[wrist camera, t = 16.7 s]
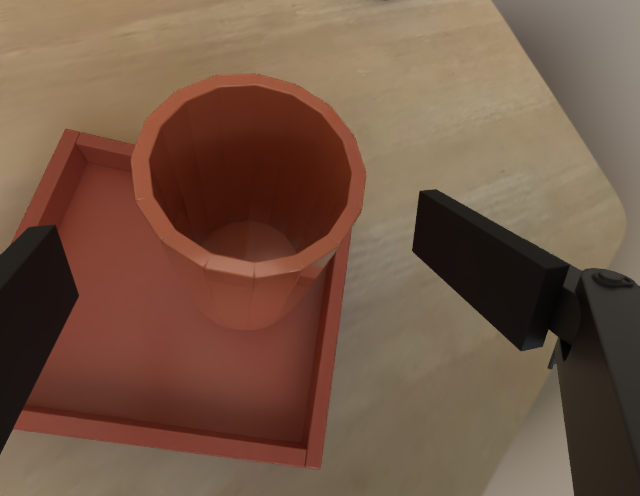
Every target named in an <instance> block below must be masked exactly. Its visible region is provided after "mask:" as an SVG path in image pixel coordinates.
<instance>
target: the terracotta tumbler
mask: <svg viewBox="0 0 640 496" xmlns="http://www.w3.org/2000/svg"><path fill="white" fill-rule="evenodd" d="M131 168H132V177H133V186H134V195H135V201H136V204H137V206H138V207H139V209H140V211H141V213H142V214H143V216H144V218H145V220H146V221H147V223H148V225H149V227H150V228H151V230H152V232H153V234H154V235H155V237H156V239H157V241H158V242H159V244H160V246H161V248H162V250H163V251H164V253H165V255H166V257H167V258H168V260H169V262H170V264H171V265H172V267H173V269H174V271H175V272H176V274H177V276H178V278H179V279H180V281H181V283H182V285H183V286H184V288H185V290H186V292H187V293H188V295H189V296H190V298H191V300H192V301H193V303H194V304H195V306H196V307H197V309H198V310H199V312H200V313H201V314H203V315H204V316H205V317H206V318H208V319H209V320H210V321H212V322H214V323H216V324H217V325H219V326H222V327H224V328H228V329H232V330H238V331H253V330H259V329H263V328H266V327H269V326H271V325H273V324H275V323H277V322H278V321H280V320H281V319H283V318H284V317H285V316H287V315H288V314H289V313H290V312H291V311H293V309H294V308H295V306H296V305H297V304H298V302H299V301H300V300H301V298H302V297H303V296H304V294H305V293H306V292H307V290H308V289H309V287H310V286H311V285H312V283H313V282H314V281H315V279H316V278H317V277H318V275H319V274H320V272H321V271H322V270H323V268H324V267H325V266H326V264H327V263H328V262H329V260H330V259H331V257H332V256H333V255H334V253H335V252H336V251H337V249H338V248H339V247H340V245H341V244H342V242H343V241H344V239H345V237H346V236H347V234H348V233H349V231H350V229H351V228H352V226H353V225H354V223H355V222H356V220H357V218H358V217H359V215H360V214H361V211H362V205H363V197H364V189H365V181H366V171H365V167H364V164H363V161H362V158H361V154H360V151H359V148H358V145H357V141H356V138H355V137H354V135H353V134H352V132H351V131H350V130H349V128H348V127H347V126H346V125H345V123H344V122H343V121H342V120H341V118H340V117H339V116H338V115H337V113H336V112H335V111H334V110H333V108H332V107H330V105H328V104H327V103H325V102H323V101H322V100H320V99H319V98H317V97H316V96H314V95H312V94H311V93H309V92H308V91H306V90H305V89H303V88H302V87H300V86H298V85H296V84H293V83H289V82H286V81H282V80H278V79H275V78H271V77H267V76H263V75H260V74H257V75H256V74H235V75H216V76H215V77H214V76H212V77H210V78H207V79H205V80H202V81H200V82H197V83H195V84H192V85H190V86H187V87H184V88H182V89H179V90H177V91H176V92H174V93H173V94H172V95H171V96H170V97H169V98H168V99H167V100H166V101H165V102H163V103H162V104H161V105H160V106H159V107H158V108H157V109H156V110H155V111H154V112H153V113H152V114H151V115H150V116H149V117H148V118H147V119H146V121H145V122H144V125H143V128H142V130H141V133H140V135H139V138H138V141H137V143H136V146H135V148H134V151H133V154H132V156H131Z"/></svg>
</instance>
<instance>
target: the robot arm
mask: <svg viewBox="0 0 640 496" xmlns="http://www.w3.org/2000/svg"><path fill="white" fill-rule="evenodd" d="M412 251H413V252H414V253H415V254H416V255H417V256H418V257H419V258H420V259H421V260H422V261H423V262H424V263H426V264H427V265H428V266H429V267H430V268H431V269H432V270H433V271H434V272H435V273H436V274H437V275H439V276H440V277H441V278H442V279H443V280H444V281H445V282H446V283H447V284H448V285H449V286H451V287H452V288H453V289H454V290H455V291H456V292H457V293H458V294H459V295H460V296H461V297H462V298H464V299H465V300H466V301H467V302H468V303H469V304H470V305H471V306H472V307H473V308H474V309H476V310H477V311H478V312H479V313H480V314H481V315H482V316H483V317H484V318H485V319H486V320H487V321H489V322H490V323H491V324H492V325H493V326H494V327H495V328H496V329H497V330H498V331H499V332H501V333H502V334H503V335H504V336H505V337H506V338H507V339H508V340H509V341H510V342H511V343H512V344H514V345H515V346H516V347H517V348H518V349H519V350H520V351H525V350H529V349H534V348H538V347H543V344H544V341H545V338H546V335H547V332H548V329H549V330H550V331H552V332H553V333H554V334H555V335H557V336H558V339H557V342H556V345H555V348H554V350H553V353H552V356H551V359H550V362H549V365H548V369H552V368H553V365H554V364H557V369H558V377H559V384H560V391H561V399H562V407H563V414H564V422H565V429H566V437H567V444H568V452H569V459H570V467H571V473H572V481H573V489H574V496H640V286H638V285H637V284H636V283H635V282H634V281H633V280H632V279H631V278H628V277H627V276H624V275H622V274H619V273H617V272H614V271H610V270H606V269H598V268H591V269H585V270H583V271H581V270H579V269H577V268H576V267H574V266H572V265H570V264H568V263H567V262H565V261H563V260H561V259H560V258H558V257H556V256H554V255H552V254H550V253H549V252H547V251H545V250H544V249H542V248H539V247H538V246H537V245H535V244H533V243H531V242H529V241H528V240H525V239H523V238H521V237H519V236H518V235H516V234H514V233H512V232H511V231H509V230H507V229H505V228H504V227H502V226H500V225H498V224H497V223H495V222H493V221H491V220H489V219H488V218H486V217H484V216H482V215H481V214H479V213H477V212H475V211H474V210H472V209H470V208H468V207H467V206H465V205H463V204H461V203H459V202H458V201H456V200H454V199H452V198H451V197H449V196H447V195H445V194H444V193H442V192H440V191H438V190H436V189H435V190H424V191H420V192H419V200H418V208H417V216H416V224H415V232H414V240H413V248H412ZM78 297H79V293H78V290H77V287H76V284H75V281H74V278H73V275H72V272H71V269H70V266H69V263H68V260H67V257H66V254H65V251H64V248H63V245H62V242H61V239H60V236H59V233H58V230H57V227H56V224H55V225H44V226H33V227H28V228H27V229H26V230H25V231H24V232H23V233H22V234H21V235H20V236H19V237H18V238H17V239H16V240H15V241H14V242H13V243H12V244H11V245H10V246H9V247H8V248H7V249H6V250H5V251H4V252H3V253H2V254H1V255H0V454H1V452H2V450H3V448H4V446H5V444H6V442H7V440H8V438H9V436H10V434H11V432H12V430H13V428H14V426H15V424H16V422H17V420H18V418H19V416H20V414H21V412H22V410H23V408H24V406H25V404H26V402H27V400H28V398H29V396H30V394H31V392H32V390H33V388H34V386H35V384H36V382H37V380H38V378H39V376H40V374H41V372H42V370H43V368H44V366H45V364H46V361H47V359H48V357H49V355H50V353H51V351H52V349H53V347H54V345H55V343H56V341H57V339H58V337H59V335H60V333H61V331H62V329H63V327H64V325H65V323H66V321H67V319H68V317H69V315H70V313H71V311H72V309H73V307H74V305H75V303H76V301H77V299H78Z"/></svg>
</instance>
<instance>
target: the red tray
mask: <svg viewBox="0 0 640 496" xmlns="http://www.w3.org/2000/svg"><path fill="white" fill-rule="evenodd" d="M135 146H136V145H133V144H129V143H125V142H120V141H116V140H112V139H108V138H103V137H99V136H95V135H90V134H86V133H82V132H81V133H80V132H78V131H73V130H69V129H65V131H64V133H63V135H62V137H61V139H60V141H59V144H58V146H57V148H56V150H55V152H54V154H53V156H52V158H51V161H50V163H49V165H48V167H47V169H46V171H45V173H44V175H43V177H42V180H41V182H40V184H39V186H38V188H37V190H36V192H35V194H34V196H33V199H32V201H31V203H30V205H29V207H28V209H27V211H26V213H25V216H24V218H23V220H22V222H21V224H20V226H19V228H18V230H17V232H16V235H15V237H14V239H13V241H12V243H13V242H14V241H15V240H16V239H17V238H18V237H19V236H20V235H21V234H22V233H23V232H24V231H25V230H26V229H27V228H28V227H33V226H44V225H55V224H56V227H57V230H58V233H59V236H60V239H61V242H62V245H63V248H64V251H65V254H66V257H67V260H68V263H69V266H70V269H71V272H72V275H73V278H74V281H75V284H76V287H77V290H78V293H79V297H78V299H77V301H76V303H75V305H74V307H73V309H72V311H71V313H70V315H69V317H68V319H67V321H66V323H65V325H64V327H63V329H62V331H61V333H60V335H59V337H58V339H57V341H56V343H55V345H54V347H53V349H52V351H51V353H50V355H49V357H48V359H47V361H46V364H45V366H44V368H43V370H42V372H41V374H40V376H39V378H38V380H37V382H36V384H35V386H34V388H33V390H32V392H31V394H30V396H29V398H28V400H27V402H26V404H25V406H24V408H23V410H22V412H21V414H20V416H19V418H18V420H17V422H16V424H15V426H14V428H13V429H16V430H24V431H31V432H39V433H46V434H54V435H61V436H69V437H76V438H84V439H91V440H99V441H106V442H114V443H121V444H129V445H136V446H144V447H151V448H159V449H167V450H174V451H182V452H189V453H197V454H204V455H212V456H219V457H227V458H234V459H242V460H249V461H257V462H264V463H272V464H279V465H287V466H294V467H302V468H303V467H305V468H310V469H318V470H319V469H320V468H321V461H322V453H323V446H324V438H325V430H326V422H327V415H328V407H329V399H330V392H331V384H332V376H333V368H334V361H335V353H336V345H337V337H338V330H339V322H340V314H341V307H342V299H343V291H344V283H345V276H346V268H347V260H348V253H349V245H350V237H351V229H352V228H351V229H350V231H349V233H348V234H347V236H346V237H345V239H344V241H343V242H342V244H341V245H340V247H339V248H338V249H337V251H336V252H335V253H334V255H333V256H332V257H331V259H330V260H329V262H328V263H327V264H326V266H325V267H324V268H323V270H322V271H321V272H320V274H319V275H318V277H317V278H316V279H315V281H314V282H313V283H312V285H311V286H310V287H309V289H308V290H307V292H306V293H305V294H304V296H303V297H302V298H301V300H300V301H299V302H298V304H297V305H296V306H295V308H294V309H293V311H291V312H290V313H289V314H288V315H287V316H285V317H284V318H283V319H281V320H280V321H278V322H277V323H275V324H273V325H271V326H269V327H266V328H263V329H259V330H253V331H238V330H232V329H228V328H224V327H222V326H219V325H217V324H216V323H214V322H212V321H210V320H209V319H208V318H206V317H205V316H204V315H203V314H201V313H200V312H199V310H198V309H197V307H196V306H195V304H194V303H193V301H192V300H191V298H190V296H189V295H188V293H187V292H186V290H185V288H184V286H183V285H182V283H181V281H180V279H179V278H178V276H177V274H176V272H175V271H174V269H173V267H172V265H171V264H170V262H169V260H168V258H167V257H166V255H165V253H164V251H163V250H162V248H161V246H160V244H159V242H158V241H157V239H156V237H155V235H154V234H153V232H152V230H151V228H150V227H149V225H148V223H147V221H146V220H145V218H144V216H143V214H142V213H141V211H140V209H139V207H138V206H137V204H136V201H135V195H134V186H133V177H132V168H131V156H132V154H133V151H134V148H135ZM12 243H11V244H12Z"/></svg>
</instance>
